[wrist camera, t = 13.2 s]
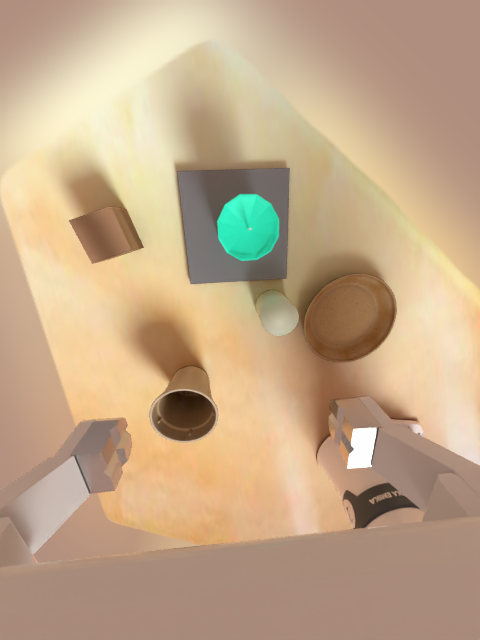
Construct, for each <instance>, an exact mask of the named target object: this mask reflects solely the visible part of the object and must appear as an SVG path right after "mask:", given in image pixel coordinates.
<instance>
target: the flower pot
mask: <svg viewBox="0 0 480 640" xmlns="http://www.w3.org/2000/svg"><path fill="white" fill-rule="evenodd" d="M182 391H186V392H189V393H184V392H182ZM149 417H150V422H151V425H152V427H153V428H154V430H155V431H156V432H157V433H158V434H159V435H161V436H162V437H164V438H166V439H168V440H171V441H175V442H183V443H184V442H185V443H187V442H194V441H197V440H200V439H202V438H204V437H206V436H207V435H209V434H210V433H211V432H212V431H213V429H214V428H215V426H216V424H217V421H218V409H217V406H216V404H215V402H214V401H213V399H212V397H211V390H210V384H209V378H208V376H207V374H206V373H205V371H203V370H202V369H200V368H198V367H194V366H188V367H185V368H182V369H179V370H178V371H177V372H176V373H175V374H174V376H173V378H172V380H171V382H170V383H169V385H168V387H167V388H166V390H165V392H163V393H162V394H161V395H160V396H159V397H158V398H157V399H156V400H155V401H154V402H153V404H152V406H151V409H150V414H149Z"/></svg>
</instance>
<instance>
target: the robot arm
mask: <svg viewBox="0 0 480 640" xmlns="http://www.w3.org/2000/svg"><path fill="white" fill-rule="evenodd" d="M330 410H331V411H332V413H331V414H330V416H329V418H328V426H329V431H330V434H331V436H329V437H328V438H327V439H326V440H325V441H324V442H323V443H322V445H321V446H320V448H319V450H318V454H317V462H318V465H319V467H320V468H321V469H322V470H323V472H324V473H325V474H326V476H327V477H328V478H329V480H330V481H331V483H332V484H333V486H334V488H335V489H336V491H337V493H338V494H339V496H340V498H341V500H342V502H343V506H344V509H345V512H346V515H347V517H348V519H349V522H350V524H351V526H352V527H353V529H350V530H341V531H331V532H322V533H313V534H304V535H295V536H285V537H276V538H267V539H258V540H248V541H239V542H230V543H221V544H211V545H202V546H193V547H184V548H174V549H165V550H156V551H147V552H137V553H128V554H119V555H109V556H100V557H91V558H82V559H72V560H63V561H53V562H45V563H38V562H37V560H36V559H35V557H34V554H35V553H36V551H37V550H38V549H39V548H40V547H41V546H42V545H43V544H44V543H45V542H46V541H47V540H48V539H49V538H50V537H51V536H52V535H53V534H54V533H55V531H56V530H57V529H58V528H59V527H60V526H61V525H62V524H63V523H64V522H65V521H66V520H67V519H68V518H69V517H70V516H71V515H72V514H73V513H74V511H75V510H76V509H77V508H78V507H79V506H80V505H81V504H82V503H83V502H84V501H85V500H86V499H87V498H88V497H89V496H90V494H92V493H100V492H108V491H115V489H116V487H117V485H118V482H119V480H120V478H121V475H122V473H123V471H122V468H121V466H123V465H124V464H125V463H126V462H127V461H128V459H129V456H130V454H131V448H132V439H131V435H130V434H129V433H128V432H127V431H126V428H127V426H128V425H127V422H126V419H125V418H107V419H97V420H83V421H82V422H80V423H79V424H78V426H77V427H76V428H75V430H74V431H73V432H72V434H71V435H70V436H69V437H68V439H67V440H66V441H65V443H64V444H63V446H62V447H61V448H60V449H59V451H58V452H57V453H56V454H55V456H54V457H53V458H48V459H47V460H45V461H43V462H42V463H41V464H39V465H37V466H36V467H34V468H33V469H31V470H30V471H29V472H27V473H26V474H24V475H23V476H21V477H20V478H18V479H17V480H15V481H14V482H12V483H11V484H9V485H8V486H6V487H5V488H3V489H2V490H0V640H480V466H479V465H477V464H475V463H473V462H471V461H469V460H467V459H465V458H463V457H461V456H459V455H457V454H455V453H453V452H451V451H449V450H448V449H446V448H444V447H442V446H440V445H438V444H436V443H434V442H432V441H430V440H428V439H426V438H424V437H423V436H424V435H423V429H422V427H421V425H420V424H419V423H418V422H417V421H411V420H396V419H390V417H389V416H388V415H387V414H386V413H385V412H384V411H383V410H382V408H381V407H380V406H379V405H378V404H377V403H376V402H375V401H374V400H373V398H372V397H370V396H363V397H356V398H345V399H334V400H331V402H330Z"/></svg>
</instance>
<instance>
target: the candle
mask: <svg viewBox="0 0 480 640" xmlns="http://www.w3.org/2000/svg"><path fill="white" fill-rule="evenodd" d="M217 225H218V239H219V241H220V242H221V244H222V245H223V247H224V249H225V250H226V252H227V253H228V254H230V255H232V256H234V257H235V258H237V259H239V260H241V261H248V260H258V259H259V258H261V257H263V256H264V255H266V254H268V253H269V252H271V250H272V249H273V247H274V245H275V243H276V241H277V239H278V237H279V218H278V216H277V214H276V212H275V210H274V208H273V206H272V205H271V203H269V202H268V201H266V200H265V199H263V198H262V197H260V196H259V195H257V194H239V195H238V196H236V197H235V198H234V199H232V200H231V201H229V202H228V203H226V204H225V205H224V208H223V210H222V212H221V214H220V216H219V218H218V221H217Z"/></svg>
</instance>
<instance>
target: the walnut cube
mask: <svg viewBox="0 0 480 640" xmlns="http://www.w3.org/2000/svg"><path fill="white" fill-rule="evenodd" d="M69 222H70V223H71V225H72V227H73V229H74V231H75V233H76V235H77V236H78V238H79V240H80V242H81V244H82V246H83V247H84V249H85V251H86V253H87V255H88V257H89V259H90V260H91V262H92V264H94V263H97V262H101V261H105V260H109V259H112V258H115V257H118V256H121V255H124V254H127V253H129V252H132V251H135V250H138V249H141V248H144V247H143V245H142V243H141V240H140V238H139V236H138V234H137V232H136V229H135V227H134V225H133V223H132V220H131V218H130V216H129V214H128V211H127V210H126V209H122V208H117V207H113V206H109V207H106V208H104V209H101V210H98V211H95V212H92V213H89V214H86V215H83V216H81V217H78V218H75V219H72V220H69Z"/></svg>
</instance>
